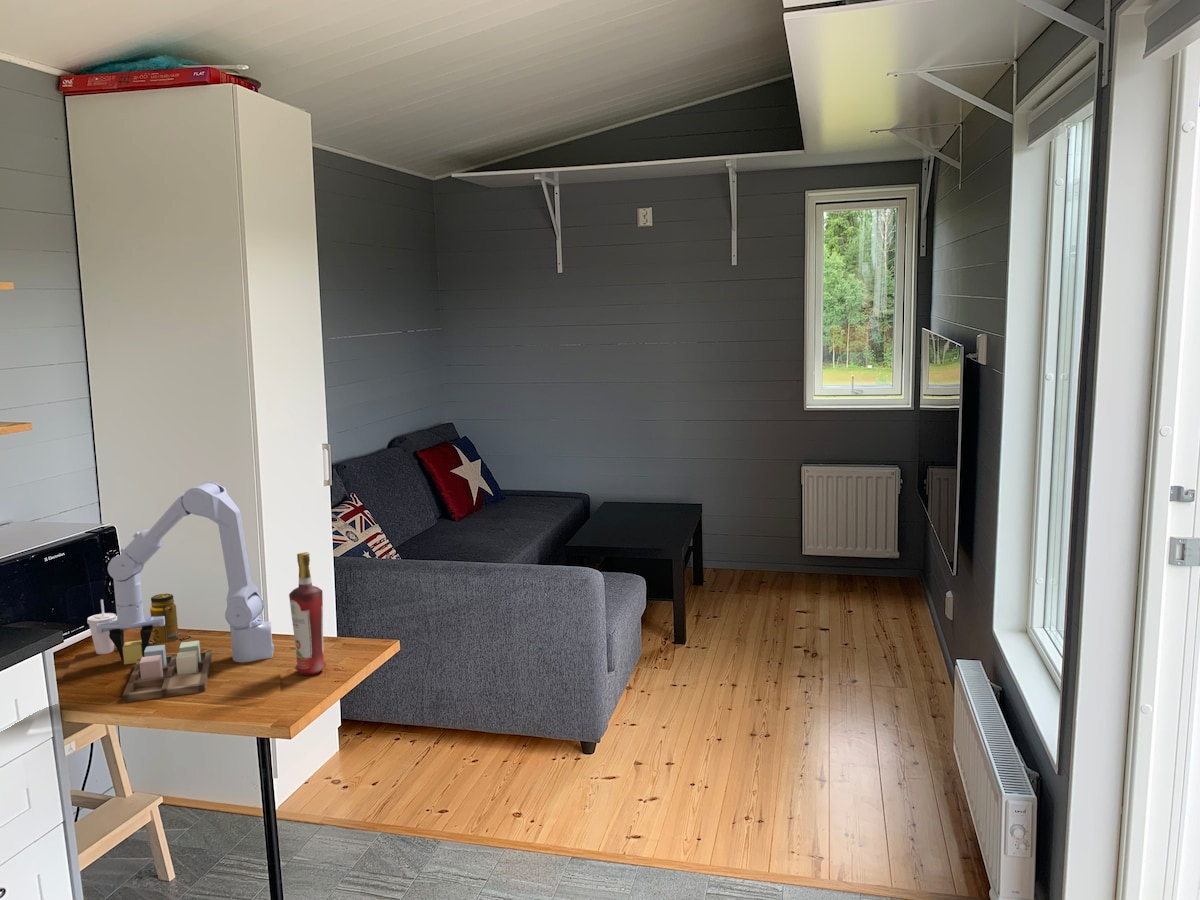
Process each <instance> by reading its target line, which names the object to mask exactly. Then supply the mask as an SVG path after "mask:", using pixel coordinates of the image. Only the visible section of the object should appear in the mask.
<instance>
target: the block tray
mask: <svg viewBox="0 0 1200 900" xmlns="http://www.w3.org/2000/svg"><path fill="white" fill-rule="evenodd" d="M177 654H178V653H177ZM177 654H171V655H166V662H167V666H162V669H163V677H158V678H151V679H143V680H141V673H140V661H141V659H138V661H137V663H135V666H134V668H133V669H132V670H133V671H132V672H131V675H130V677H129V680H128V682H127V684H126V686H125V689H124V691H123V694H122V703H128V702H138V701H143V700H144V701H145V700H151V699H152V700H153V699H160V698H166V697H167V698H168V697H175V696H182V695H183V696H184V695H189V694H196V693H197V694H198V693H203V692H206V688H207V684H208V678H209V675H210V669H211V664H212V658H213V650H212V649H210V650H203V651H201V650H200V655H201V662H198V672H197V673H190V674H182V675H177V663H176V657H177Z"/></svg>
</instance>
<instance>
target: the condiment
mask: <svg viewBox="0 0 1200 900" xmlns="http://www.w3.org/2000/svg"><path fill="white" fill-rule="evenodd" d="M150 601H151V604H150V605H151V607H150V609H149V610H150V611H149V612H150V617H160V616H165V625H164V626H154V628H153V630H152V633H151V635H152V641H153V640H154V641H153V643H154V644H153V643H152V642H150V641H149V643H148V644H150V645H157V644H158V645H159V644H164V643H165V644H166V643H174V642H177V641H176V640H178V639H179V638H178V634H179V625H178V616H177V615H178V613H177V606H176V604H175V600H174V595H173V594H171V593H160V594H155V595H153V596H152V597H150ZM189 636H190V637H185V638H184V639H181V640H180V641H182V640H186V639H188V638H191V637H192V635H189Z"/></svg>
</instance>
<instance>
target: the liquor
mask: <svg viewBox="0 0 1200 900" xmlns="http://www.w3.org/2000/svg"><path fill="white" fill-rule="evenodd" d="M310 557H311V556H310V552H298V553H297V554H296V558H297V560H296V561H297V565H298V587H295V588H294V589H293V590H291V591H290V592H289V594H288V598H289V603H290V604H289V606H290V615H291V621H292V622H291V623H292V629H293V637H294V645H295V656H296V666H295V667H294V669H295V670H296V671H297V672H298V673H300V674H301V675H303V674H304V675H303V676H312V675H311V674H314V675H317V674H316V673H318V672H320V671H321V672H322V671H323V670H324V669H325V668H326V666H327V663H326V661H325V656H324V655H325V654H324V653H325V652H324V629H323V628H324V609H323V608H324V607H323V596H324V595H323V589H321V588H319V587H318V586H315V585H313V582H312V576H311V570H310V569H311V568H310V561H311V559H310ZM321 672H320V673H321ZM318 674H319V673H318Z"/></svg>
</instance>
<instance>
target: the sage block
mask: <svg viewBox="0 0 1200 900" xmlns="http://www.w3.org/2000/svg"><path fill="white" fill-rule="evenodd" d="M200 645H201V643H200V640H192V641H183V642H180V645H179V653H180V652H189V651H197V660H198V662H201V655H200V652H201V646H200Z"/></svg>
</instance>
